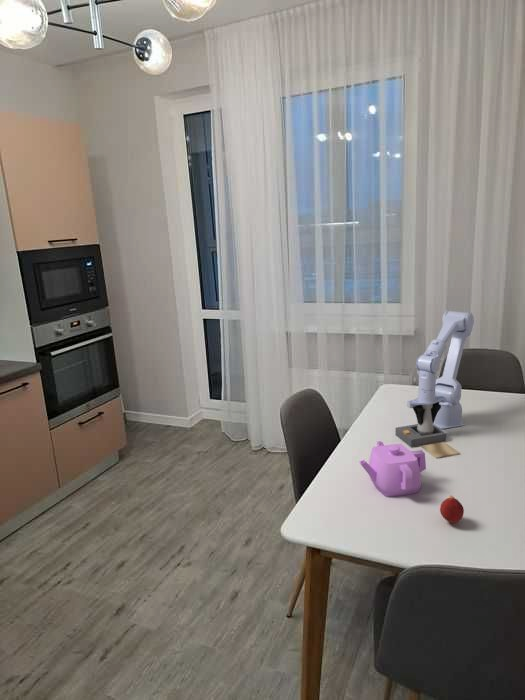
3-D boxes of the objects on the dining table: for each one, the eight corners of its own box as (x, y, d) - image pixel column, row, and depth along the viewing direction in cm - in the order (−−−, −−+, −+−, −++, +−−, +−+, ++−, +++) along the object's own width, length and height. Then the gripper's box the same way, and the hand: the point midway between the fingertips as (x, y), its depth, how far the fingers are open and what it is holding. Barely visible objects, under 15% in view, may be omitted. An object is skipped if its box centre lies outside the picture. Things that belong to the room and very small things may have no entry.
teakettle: (411, 505, 139) (413, 465, 136) (356, 489, 149) (356, 452, 145) (429, 478, 153) (431, 442, 149) (377, 465, 162) (378, 431, 159)
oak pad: (444, 443, 175) (444, 441, 174) (459, 454, 166) (460, 452, 166) (421, 447, 173) (421, 445, 172) (436, 458, 164) (436, 457, 164)
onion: (463, 518, 132) (465, 492, 130) (462, 531, 127) (463, 503, 125) (440, 514, 134) (441, 488, 132) (438, 526, 129) (439, 499, 127)
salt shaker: (414, 431, 182) (415, 399, 179) (429, 430, 183) (430, 397, 179) (420, 438, 177) (422, 404, 173) (436, 437, 177) (437, 403, 174)
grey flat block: (428, 429, 186) (429, 420, 185) (446, 441, 176) (446, 432, 175) (395, 435, 183) (395, 426, 182) (411, 447, 173) (411, 438, 172)
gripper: (438, 382, 180) (437, 416, 184) (402, 387, 177) (402, 422, 181) (450, 388, 174) (448, 423, 177) (413, 393, 170) (412, 429, 174)
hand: (425, 423), depth 178 cm, fingers closed on salt shaker, 4 cm apart
